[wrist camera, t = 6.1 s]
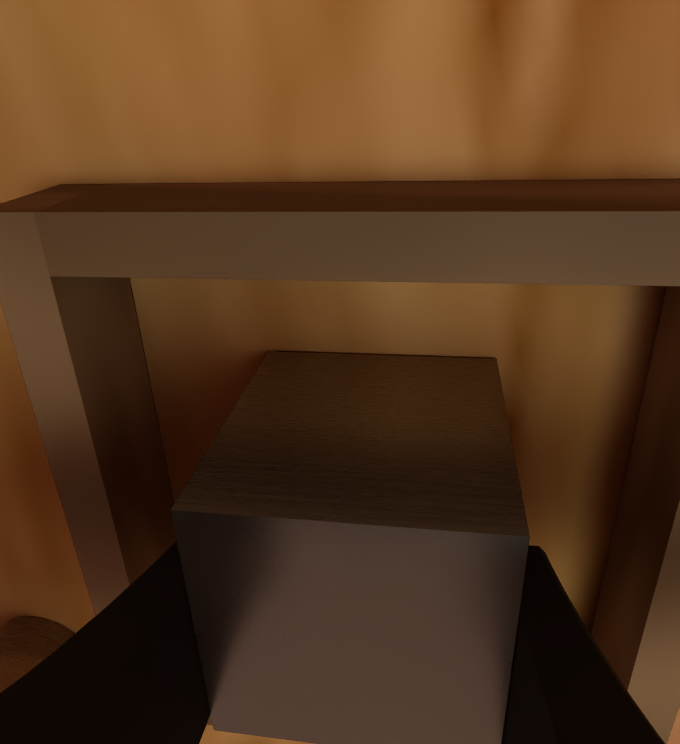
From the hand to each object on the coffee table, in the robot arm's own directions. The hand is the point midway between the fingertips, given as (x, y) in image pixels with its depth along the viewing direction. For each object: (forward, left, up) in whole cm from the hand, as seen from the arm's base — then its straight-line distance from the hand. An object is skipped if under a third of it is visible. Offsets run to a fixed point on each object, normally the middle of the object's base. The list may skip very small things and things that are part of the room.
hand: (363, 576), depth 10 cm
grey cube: (+1, 0, -3) cm, 3 cm away
